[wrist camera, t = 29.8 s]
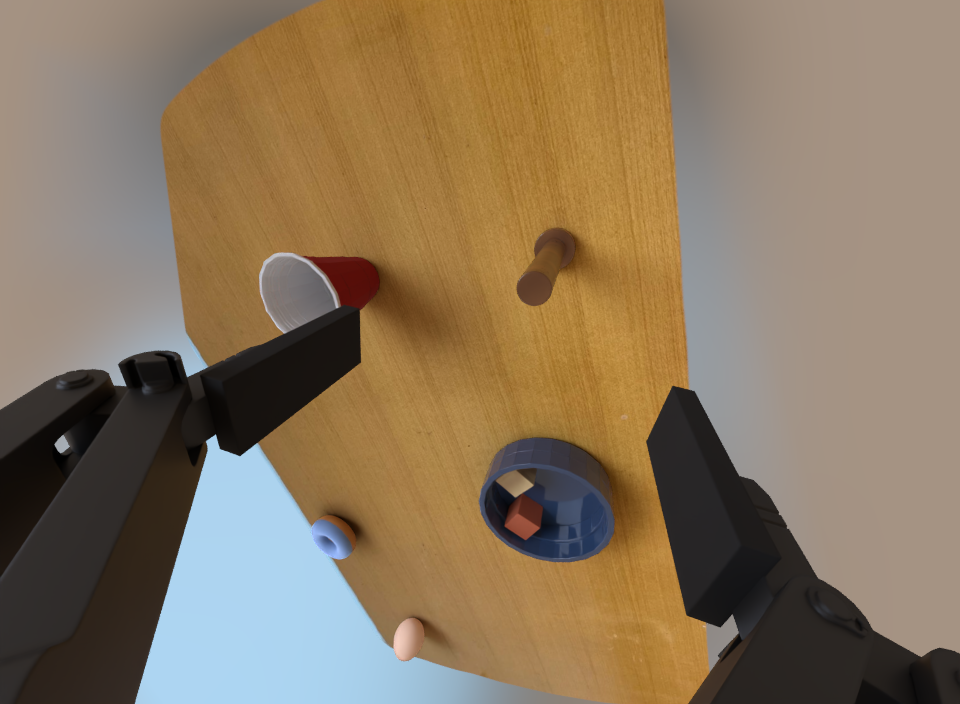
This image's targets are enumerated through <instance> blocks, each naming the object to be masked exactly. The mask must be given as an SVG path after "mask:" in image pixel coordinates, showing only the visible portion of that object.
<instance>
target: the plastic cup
mask: <svg viewBox="0 0 960 704" xmlns="http://www.w3.org/2000/svg"><path fill="white" fill-rule="evenodd" d="M259 280H260V294H261V297H262V299H263V302H264V305H265V308H266V311H267V312H268V314H269V315H270V317H271V318H272V320H273V321H274V323H275V324H276V326H277V327H278V328H279V329H280V330H281V331H282V332H283V333H284V334H285V333H287V332H289V331H291V330H293V329H295V328H297V327H299V326H301V325H303V324H306V323H308V322H310V321H312V320H314V319H316V318H318V317H320V316H322V315H324V314H326V313H328V312H330V311H332V310H334V309H336V308H339V307H341V306H343V305H347V306H351V307H355V308H360V310H361V309H362V308H363V307H364V306H365V305H366V304H367V303H368V302H369V301H370V300H371V299H372V298H373V297H374V295H375V294H376V293H377V291H378V289H379V283H380V281H379V276H378V273H377V271H376V269H375V268H374V266H373V265H372V264H371V263H370V262H368V261H367V260H365V259H362V258H359V257H307V256H300V255H298V254H296V253H275V254H274V255H272V256H271V257H270V258H268V259H267V260H265V261H264V264H263V267H262V269H261V272H260V275H259Z"/></svg>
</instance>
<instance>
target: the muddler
mask: <svg viewBox="0 0 960 704" xmlns="http://www.w3.org/2000/svg"><path fill="white" fill-rule="evenodd" d="M534 252H535V259H534V260H533V261H532V263H531V264H530V265H529V267H528V268H527V269H526V271H525V272H524V273H523V275H522V276H521V278H520V279H519V281H518V283H517V294H518V296H519V298H520V299H521V300H522V301H523V302H524V303H526V304H528V305H531V306H538V305H541V304H543V303H545V302H546V301H547V300H548V299H549V298H550V296H551V293H552V290H553V287H554V284H555V281H556V278H557V275H558V272H559V269H561V268H564V267H565V266H567V265H568V264H569V263H570V262H571V260H572V259H573V257H574V254H575V241H574V238H573V237H572V235H571V234H570V233H569V232H568V231H566V230H565V229H562V228H551V229H548V230H546V231H545V232H543V233H542V234H541V235H540V236H539V238H538V239H537V241H536V244H535V248H534Z"/></svg>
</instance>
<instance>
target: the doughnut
mask: <svg viewBox="0 0 960 704" xmlns="http://www.w3.org/2000/svg"><path fill="white" fill-rule="evenodd" d="M312 538H313V540H314V542H315V544H316V545H317V546H318V548H319V549H320V550H321V551H323V552H324V553H325V554H327V555H328V556H330V557H332V558H335V559H344V558H346V557H348V556H349V555H350V554H351V553H352V552H353V550H354V549H355V546H356V537H355V534H354V532H353V531H352V529H351V528H350V527H349V526H348V524H346V523H345V522H344V521H343V520H341V519H340V518H338V517H335V516H333V515H325V516H323V517H320V518H319V519H318V520H317V521H316V522H315V523H314V525H313V527H312Z"/></svg>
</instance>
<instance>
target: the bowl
mask: <svg viewBox="0 0 960 704" xmlns="http://www.w3.org/2000/svg"><path fill="white" fill-rule="evenodd" d="M527 468H537V471H536V477H535V482H534V486H532V487H531V488H529V489H528V490H526V491H525V492H523V494H524V495H526V496H527V497H529V498H530V499H532V500H533V501H535V502H536V503H538V504H539V505H541V506H543V511H542V518H541V525H540V529H539V530H537V531H536V532H535V533H534V534H533V535H531V536H530V537H529V538H528V539H527V540H524V539H523V538H521V537H520V536H518V535H517V534H515V533H514V532H512V531H511V530H509V529H508V528H506V527H505V526H504V525H505V521H506V517H507V513H508V509H509V506H510V505H511V504H512V503H513V502H514V501H515V500H516V499H517V498H518V497H519V496H520V495H521V494H520V495H519V496H517V497H514V496H513V495H512V494H511V493H510V492H508V491H507V490H506V489H505V488H504V487H502V486H501V485H500V484H499V483H498V482H497V481H495V480H496V479H497V478H499V477H500V476H501V475H503V474H506V473H508V472H511V471H514V470H517V469H527ZM479 504H480V511H481V514H482V516H483V518H484V520H485V522H486V525H487V526H488V527H489V528H490V529H491V531H492V532H493V533H494V534H495V536H496V537H498V538H499V539H500V540H501V541H503V542H504V543H505V544H506V545H508V546H509V547H511V548H513V549H515V550H516V551H518V552H520V553H522V554H525V555H527V556H530V557H533V558H536V559H540V560H545V561H551V562H574V561H579V560H584V559H587V558H589V557H592V556H594V555H596V554H598V553H599V552H600V551H601V550H603V549H604V548H605V547H606V546H607V545H608V544H609V542H610V540H611V538H612V536H613V533H614V523H615V518H614V506H613V494H612V487H611V484H610V481H609V477H608V475H607V474H606V472H605V471H604V469H603V468H602V467H601V465H600V464H599V463H598V462H597V461H596V460H595V459H594V458H592V457H591V456H590V455H589V454H588V453H586V452H585V451H583V450H581V449H579V448H577V447H576V446H574V445H572V444H569V443H566V442H563V441H559V440H555V439H549V438H529V439H522V440H518V441H516V442H514V443H511V444H509V445H507V446H505V447H504V448H503V449H502V450H500V451H499V452H498V453H497V454H496V455H495V457H494V458H493V460H492V461H491V463H490V466H489V469H488V471H487V474H486V477H485V480H484V483H483V486H482V489H481V493H480V498H479Z"/></svg>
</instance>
